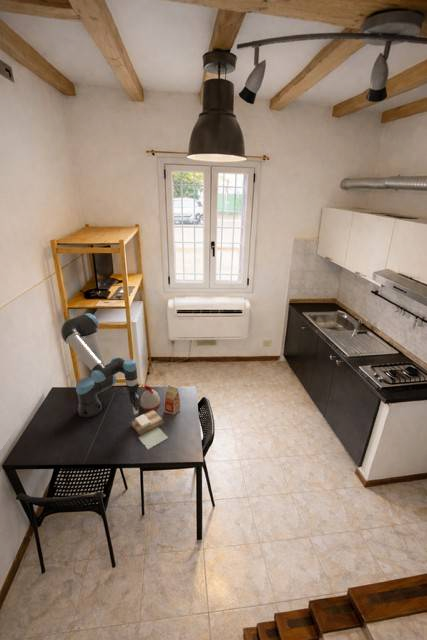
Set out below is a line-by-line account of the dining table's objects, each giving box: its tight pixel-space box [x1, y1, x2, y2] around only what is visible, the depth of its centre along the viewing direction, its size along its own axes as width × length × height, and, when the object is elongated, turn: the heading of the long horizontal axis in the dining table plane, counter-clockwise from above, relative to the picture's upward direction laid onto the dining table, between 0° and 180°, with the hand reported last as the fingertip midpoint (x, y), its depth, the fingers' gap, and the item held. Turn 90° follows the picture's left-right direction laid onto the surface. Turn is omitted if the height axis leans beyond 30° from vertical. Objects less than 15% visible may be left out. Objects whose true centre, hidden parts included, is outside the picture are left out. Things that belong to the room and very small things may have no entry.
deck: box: [130, 409, 164, 437], centre depth 200 cm, size 12×16×4 cm
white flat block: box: [134, 413, 151, 428], centre depth 197 cm, size 9×6×2 cm, turn 40°
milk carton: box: [163, 384, 181, 415], centre depth 211 cm, size 9×9×20 cm
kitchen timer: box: [140, 384, 161, 411], centre depth 217 cm, size 14×14×15 cm
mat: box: [137, 426, 169, 450], centre depth 191 cm, size 12×14×1 cm
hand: (136, 413), depth 203 cm, fingers closed
